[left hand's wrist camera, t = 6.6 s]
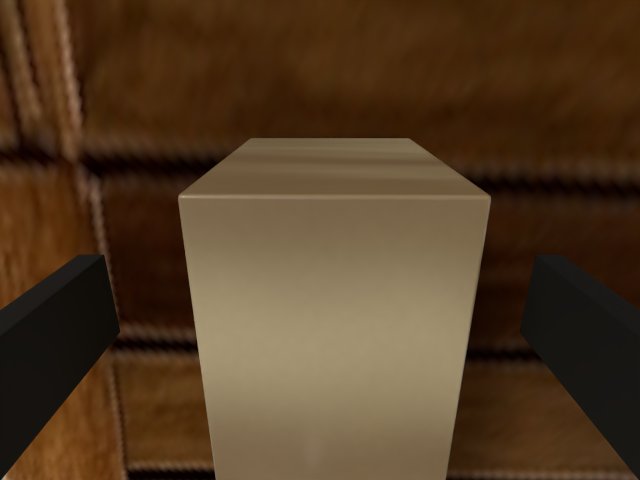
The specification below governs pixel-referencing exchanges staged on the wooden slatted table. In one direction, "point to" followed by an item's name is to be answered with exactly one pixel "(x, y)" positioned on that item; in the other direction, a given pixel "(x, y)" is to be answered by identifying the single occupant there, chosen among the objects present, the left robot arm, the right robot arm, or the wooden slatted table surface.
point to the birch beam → (332, 306)
